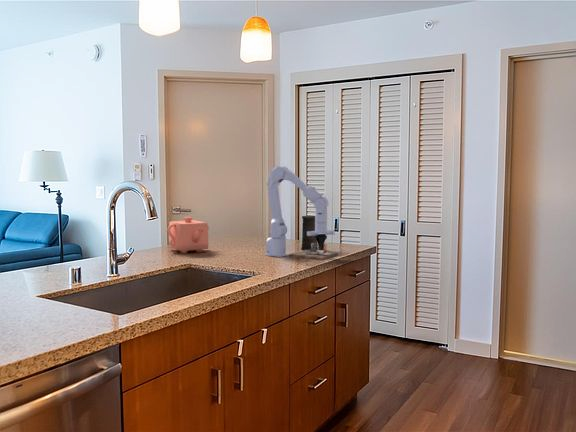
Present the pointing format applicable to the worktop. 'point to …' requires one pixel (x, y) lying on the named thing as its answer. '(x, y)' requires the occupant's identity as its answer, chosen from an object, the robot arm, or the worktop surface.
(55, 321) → the worktop surface
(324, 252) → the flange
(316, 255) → the jig base
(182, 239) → the teapot
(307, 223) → the container
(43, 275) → the worktop surface
